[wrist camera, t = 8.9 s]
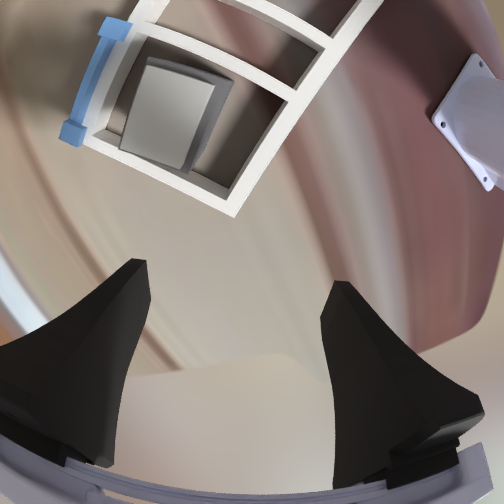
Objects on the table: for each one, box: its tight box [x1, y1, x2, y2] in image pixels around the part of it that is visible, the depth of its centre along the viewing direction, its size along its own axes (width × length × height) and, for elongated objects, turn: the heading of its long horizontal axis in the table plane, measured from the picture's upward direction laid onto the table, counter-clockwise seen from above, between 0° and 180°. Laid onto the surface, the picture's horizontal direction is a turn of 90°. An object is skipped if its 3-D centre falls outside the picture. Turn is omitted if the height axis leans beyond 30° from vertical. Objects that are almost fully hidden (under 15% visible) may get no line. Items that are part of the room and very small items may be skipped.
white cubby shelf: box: [59, 0, 384, 218], centre depth 12 cm, size 13×21×4 cm, turn 150°
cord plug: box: [118, 56, 235, 174], centre depth 14 cm, size 4×5×6 cm
